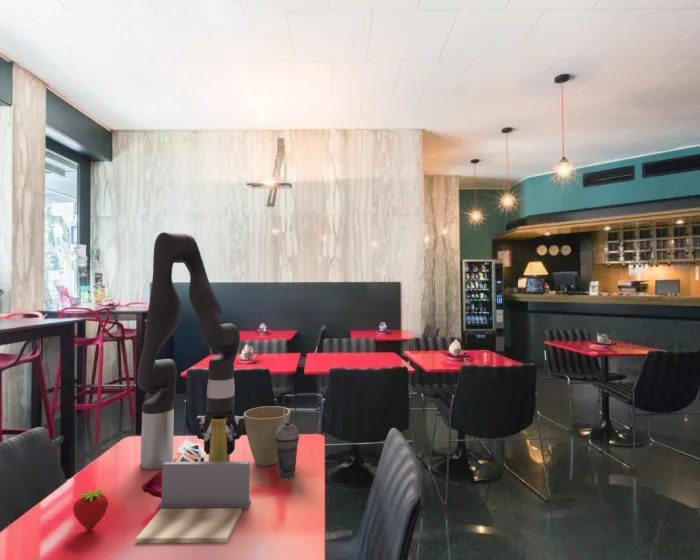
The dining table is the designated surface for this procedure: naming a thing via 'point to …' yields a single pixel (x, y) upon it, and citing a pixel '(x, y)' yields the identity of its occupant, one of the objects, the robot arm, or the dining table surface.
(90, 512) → the strawberry
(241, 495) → the screen
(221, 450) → the vase
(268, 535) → the dining table surface
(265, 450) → the plant pot
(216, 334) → the robot arm
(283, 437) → the beverage cup
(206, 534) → the board
